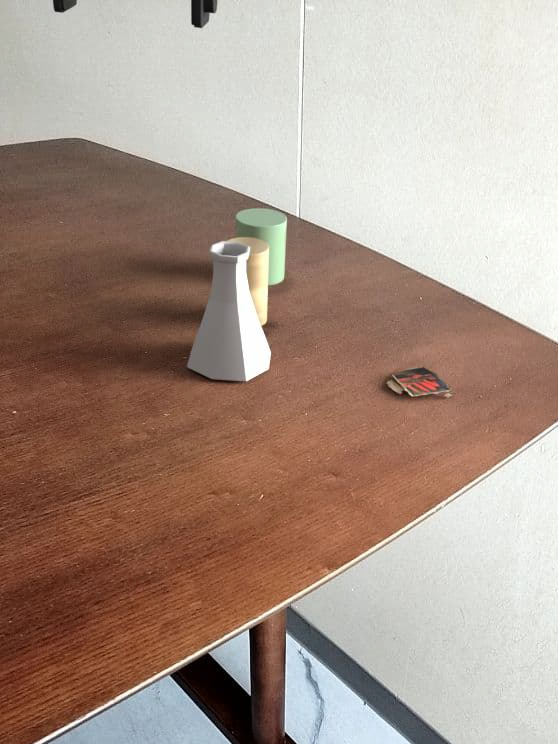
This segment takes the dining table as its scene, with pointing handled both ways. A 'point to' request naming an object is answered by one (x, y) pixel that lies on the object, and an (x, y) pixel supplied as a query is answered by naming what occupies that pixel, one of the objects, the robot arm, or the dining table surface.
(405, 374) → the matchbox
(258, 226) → the mint green cylinder
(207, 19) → the robot arm
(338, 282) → the dining table surface
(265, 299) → the birch peg
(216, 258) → the flask
